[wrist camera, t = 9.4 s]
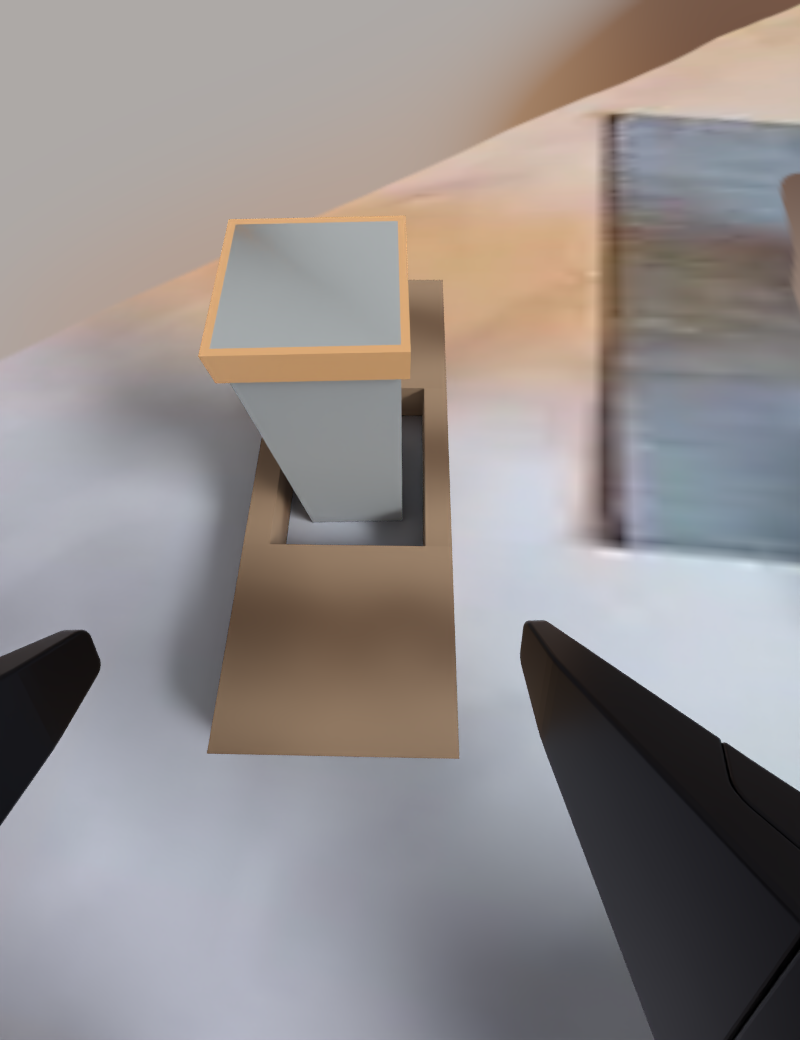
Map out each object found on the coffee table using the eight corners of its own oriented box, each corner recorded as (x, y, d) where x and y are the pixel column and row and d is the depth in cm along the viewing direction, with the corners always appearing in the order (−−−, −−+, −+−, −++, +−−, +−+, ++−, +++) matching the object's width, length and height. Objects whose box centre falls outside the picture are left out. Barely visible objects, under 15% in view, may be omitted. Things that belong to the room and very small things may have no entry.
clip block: (406, 524, 17) (411, 351, 8) (308, 526, 17) (198, 356, 8) (404, 440, 19) (405, 215, 10) (314, 442, 19) (228, 219, 10)
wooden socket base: (451, 747, 14) (459, 758, 12) (232, 742, 14) (207, 753, 12) (439, 313, 22) (442, 279, 20) (298, 312, 22) (289, 279, 20)
